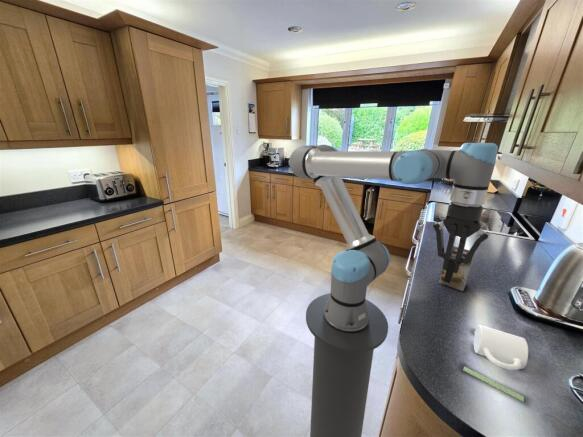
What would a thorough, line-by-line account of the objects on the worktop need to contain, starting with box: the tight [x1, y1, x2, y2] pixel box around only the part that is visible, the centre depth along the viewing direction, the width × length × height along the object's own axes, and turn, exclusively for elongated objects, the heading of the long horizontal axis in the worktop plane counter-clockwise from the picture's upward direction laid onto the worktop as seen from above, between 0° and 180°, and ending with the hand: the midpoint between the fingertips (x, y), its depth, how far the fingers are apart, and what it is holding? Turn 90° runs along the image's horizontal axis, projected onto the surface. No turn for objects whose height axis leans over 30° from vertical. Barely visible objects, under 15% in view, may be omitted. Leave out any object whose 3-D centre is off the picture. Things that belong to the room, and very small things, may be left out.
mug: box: [473, 324, 529, 371], centre depth 66 cm, size 12×10×8 cm
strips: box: [462, 329, 525, 402], centre depth 68 cm, size 12×20×1 cm, turn 137°
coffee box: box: [438, 245, 476, 292], centre depth 101 cm, size 9×6×16 cm
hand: (447, 280), depth 72 cm, fingers closed
